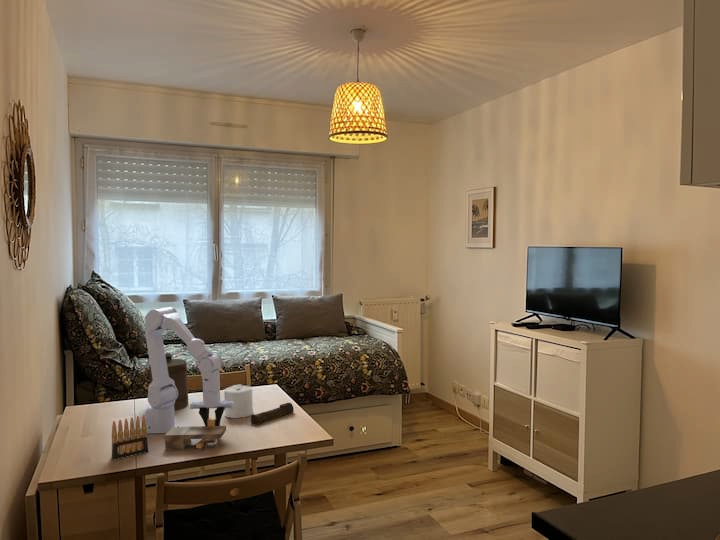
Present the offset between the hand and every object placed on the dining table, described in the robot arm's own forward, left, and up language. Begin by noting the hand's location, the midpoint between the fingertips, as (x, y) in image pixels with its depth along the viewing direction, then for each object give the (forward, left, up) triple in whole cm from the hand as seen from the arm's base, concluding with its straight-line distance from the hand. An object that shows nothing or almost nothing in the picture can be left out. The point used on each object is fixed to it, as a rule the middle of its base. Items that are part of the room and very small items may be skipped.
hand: (212, 428), depth 191 cm
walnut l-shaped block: (-3, -8, -2) cm, 9 cm away
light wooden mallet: (-1, -5, -2) cm, 6 cm away
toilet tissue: (+4, +25, -3) cm, 25 cm away
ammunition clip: (-22, -15, -3) cm, 27 cm away
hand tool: (+18, +18, -3) cm, 26 cm away
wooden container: (-27, +38, -3) cm, 47 cm away
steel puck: (+1, -9, -3) cm, 9 cm away
